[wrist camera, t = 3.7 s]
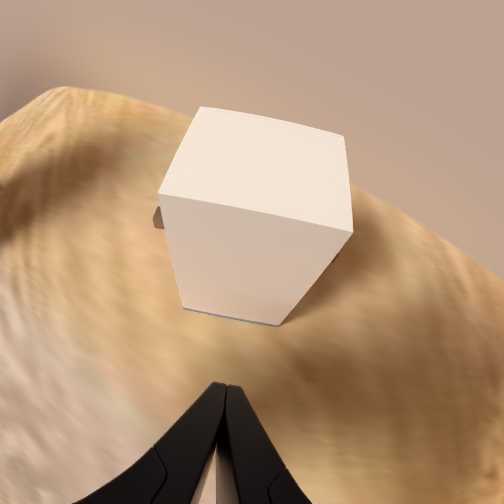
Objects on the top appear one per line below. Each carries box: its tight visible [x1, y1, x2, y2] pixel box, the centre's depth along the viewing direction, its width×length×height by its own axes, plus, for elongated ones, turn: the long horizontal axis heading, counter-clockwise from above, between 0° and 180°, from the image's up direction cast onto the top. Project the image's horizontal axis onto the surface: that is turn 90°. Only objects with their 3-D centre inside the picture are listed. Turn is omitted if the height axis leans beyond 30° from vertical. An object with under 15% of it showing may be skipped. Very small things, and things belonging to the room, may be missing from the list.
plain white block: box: [158, 106, 353, 327], centre depth 13 cm, size 4×6×10 cm
